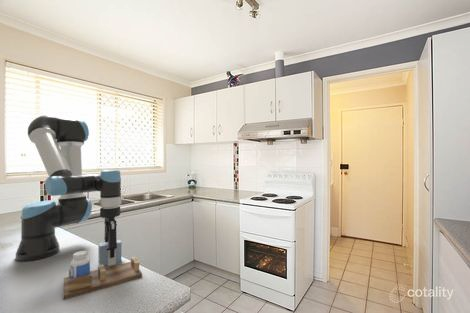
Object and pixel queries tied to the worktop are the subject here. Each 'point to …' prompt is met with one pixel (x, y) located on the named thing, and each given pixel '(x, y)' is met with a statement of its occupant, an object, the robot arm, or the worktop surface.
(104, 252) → the block
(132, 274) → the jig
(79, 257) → the pill bottle
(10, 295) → the worktop surface
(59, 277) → the worktop surface
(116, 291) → the worktop surface
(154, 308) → the worktop surface
